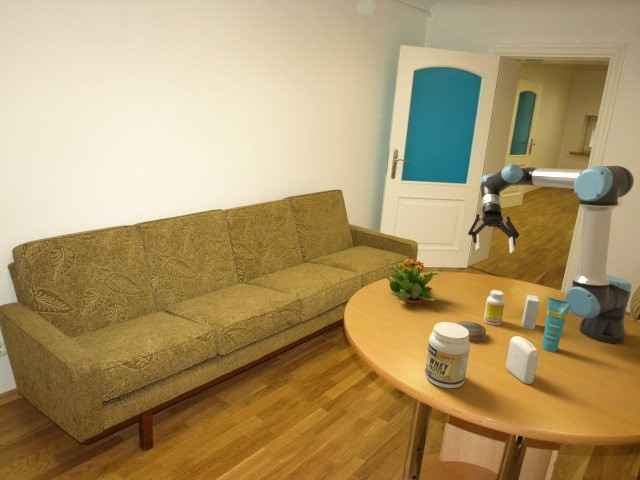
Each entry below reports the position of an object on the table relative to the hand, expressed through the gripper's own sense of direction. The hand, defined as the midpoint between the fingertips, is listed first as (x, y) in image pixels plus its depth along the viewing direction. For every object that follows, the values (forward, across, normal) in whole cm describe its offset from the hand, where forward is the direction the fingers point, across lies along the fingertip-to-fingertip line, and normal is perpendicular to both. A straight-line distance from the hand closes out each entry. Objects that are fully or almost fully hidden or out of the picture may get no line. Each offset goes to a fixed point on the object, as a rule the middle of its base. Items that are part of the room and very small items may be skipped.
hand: (494, 251), depth 188 cm
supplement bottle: (+27, 0, -11) cm, 29 cm away
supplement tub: (+58, +25, +21) cm, 67 cm away
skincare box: (+27, -14, -10) cm, 32 cm away
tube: (+40, -16, +2) cm, 43 cm away
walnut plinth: (+36, +11, -1) cm, 38 cm away
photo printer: (+54, +1, +17) cm, 56 cm away
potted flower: (+16, +30, -22) cm, 41 cm away
